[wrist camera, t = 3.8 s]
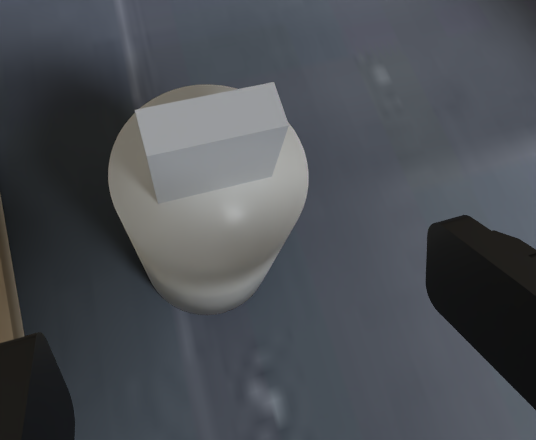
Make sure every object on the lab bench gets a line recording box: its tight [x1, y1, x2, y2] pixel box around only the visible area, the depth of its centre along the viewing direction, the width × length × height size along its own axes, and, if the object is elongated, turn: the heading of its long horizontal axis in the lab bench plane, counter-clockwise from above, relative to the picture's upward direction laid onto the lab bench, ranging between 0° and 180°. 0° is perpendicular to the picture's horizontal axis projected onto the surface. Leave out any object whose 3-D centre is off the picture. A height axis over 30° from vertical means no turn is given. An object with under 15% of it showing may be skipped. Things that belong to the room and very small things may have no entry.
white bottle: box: [108, 82, 308, 315], centre depth 15 cm, size 5×5×11 cm
